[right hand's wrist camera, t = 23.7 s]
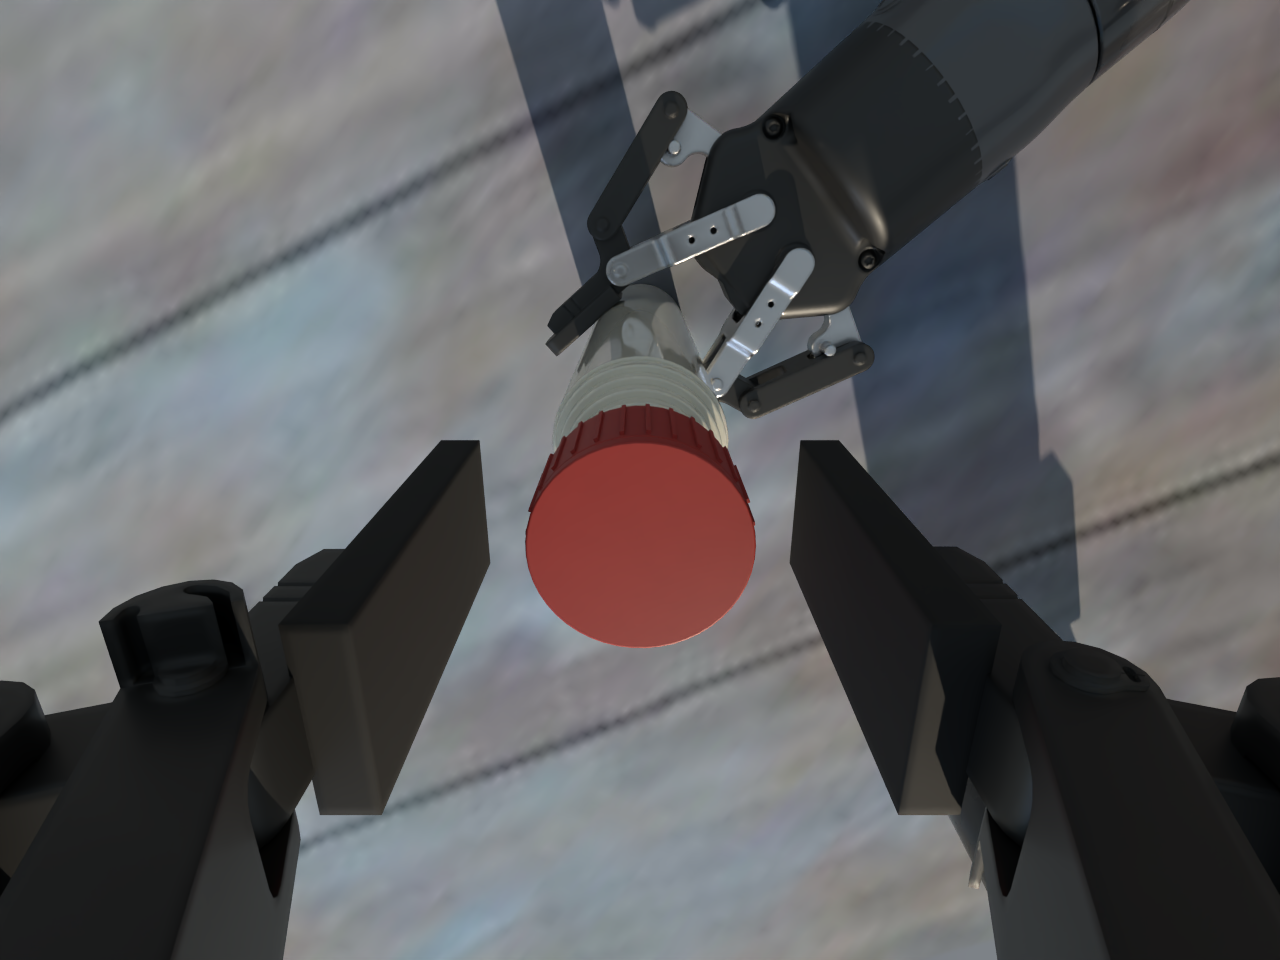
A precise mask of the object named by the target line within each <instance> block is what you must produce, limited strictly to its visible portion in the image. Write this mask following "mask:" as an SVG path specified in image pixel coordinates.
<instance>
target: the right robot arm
mask: <svg viewBox="0 0 1280 960" xmlns="http://www.w3.org/2000/svg"><path fill="white" fill-rule="evenodd" d="M489 565H490V554H489V543H488V532H487V520H486V509H485V498H484V486H483V475H482V464H481V452H480V441H479V440H441V441H440V442H439V443H438V445H437V446H436V447H435V448H434V449H433V450H432V451H431V452H430V454H429V455H428V456H427V457H426V458H425V459H424V460H423V461H422V463H421V464H420V465H419V466H418V467H417V468H416V469H415V471H414V472H413V473H412V474H411V475H410V476H409V477H408V478H407V480H406V481H405V482H404V483H403V484H402V485H401V486H400V487H399V489H398V490H397V491H396V492H395V493H394V494H393V495H392V497H391V498H390V499H389V500H388V501H387V502H386V503H385V504H384V506H383V507H382V508H381V509H380V510H379V511H378V512H377V513H376V515H375V516H374V517H373V518H372V519H371V520H370V521H369V523H368V524H367V525H366V526H365V527H364V528H363V529H362V530H361V532H360V533H359V534H358V535H357V536H356V537H355V538H354V539H353V541H352V542H351V543H350V544H349V545H348V546H347V547H346V549H323V550H321V551H320V552H318V553H316V554H314V555H312V556H310V557H309V558H307V559H305V560H303V561H301V562H299V563H298V564H296V565H295V566H294V567H293V568H292V569H291V570H290V571H289V572H288V573H287V574H286V575H285V576H284V577H283V578H282V579H281V580H280V581H279V582H278V586H274V587H273V588H272V589H271V590H270V591H269V592H268V593H267V594H266V595H265V596H264V597H263V602H258V603H257V604H256V605H255V606H254V607H253V608H252V609H251V610H250V611H249V612H248V610H247V605H246V601H245V597H244V593H243V589H241V588H240V587H238V586H237V585H235V584H234V583H232V582H226V581H219V580H198V581H187V582H182V583H178V584H173V585H168V586H163V587H160V588H157V589H155V590H152V591H149V592H146V593H143V594H140V595H138V596H135V597H133V598H131V599H130V600H128V601H126V602H124V603H122V604H120V605H119V606H117V607H115V608H113V609H112V610H111V611H110V612H109V613H108V614H107V615H105V616H104V617H103V618H102V619H101V620H100V621H99V624H100V628H101V631H102V634H103V637H104V640H105V643H106V646H107V649H108V652H109V655H110V658H111V661H112V664H113V667H114V670H115V673H116V676H117V679H118V682H119V685H120V690H119V692H118V694H117V695H116V697H115V699H114V701H113V702H111V703H107V704H102V705H96V706H91V707H86V708H81V709H75V710H70V711H65V712H60V713H54V714H49V715H44V713H43V710H42V708H41V705H40V702H39V700H38V697H37V695H36V692H35V690H34V689H33V688H31V687H30V686H28V685H27V684H25V683H23V682H13V681H0V960H283V955H284V948H285V941H286V935H287V928H288V921H289V914H290V908H291V901H292V894H293V887H294V881H295V874H296V867H297V860H298V854H299V847H300V840H301V839H300V832H299V825H298V820H297V816H296V812H295V808H296V806H297V804H298V803H299V801H300V799H301V797H302V796H303V794H304V792H305V791H306V789H307V787H308V785H309V784H310V782H311V780H312V781H313V786H314V790H315V795H316V799H317V804H318V808H319V813H320V815H382V813H383V811H384V808H385V806H386V804H387V801H388V799H389V797H390V794H391V792H392V790H393V787H394V785H395V783H396V780H397V778H398V776H399V773H400V771H401V769H402V766H403V764H404V762H405V760H406V757H407V755H408V753H409V750H410V748H411V746H412V743H413V741H414V739H415V736H416V734H417V732H418V729H419V727H420V725H421V722H422V720H423V718H424V715H425V713H426V711H427V708H428V706H429V704H430V702H431V699H432V697H433V695H434V692H435V690H436V688H437V685H438V683H439V681H440V678H441V676H442V674H443V671H444V669H445V667H446V664H447V662H448V660H449V657H450V655H451V653H452V651H453V648H454V646H455V644H456V641H457V639H458V637H459V634H460V632H461V630H462V627H463V625H464V623H465V620H466V618H467V616H468V613H469V611H470V609H471V606H472V604H473V602H474V599H475V597H476V595H477V593H478V590H479V588H480V586H481V583H482V581H483V579H484V576H485V574H486V572H487V569H488V567H489ZM790 565H791V567H792V569H793V572H794V574H795V576H796V579H797V581H798V583H799V586H800V588H801V590H802V593H803V595H804V597H805V599H806V602H807V604H808V606H809V609H810V611H811V613H812V616H813V618H814V620H815V623H816V625H817V627H818V630H819V632H820V634H821V637H822V639H823V641H824V644H825V646H826V648H827V651H828V653H829V655H830V657H831V660H832V662H833V664H834V667H835V669H836V671H837V674H838V676H839V678H840V681H841V683H842V685H843V688H844V690H845V692H846V695H847V697H848V699H849V702H850V704H851V706H852V708H853V711H854V713H855V715H856V718H857V720H858V722H859V725H860V727H861V729H862V732H863V734H864V736H865V739H866V741H867V743H868V746H869V748H870V750H871V753H872V755H873V757H874V760H875V762H876V764H877V766H878V769H879V771H880V773H881V776H882V778H883V780H884V783H885V785H886V787H887V790H888V792H889V794H890V797H891V799H892V801H893V804H894V806H895V808H896V811H897V813H898V815H960V813H961V808H962V804H963V799H964V795H965V790H966V786H967V781H968V777H969V778H970V780H971V782H972V783H973V785H974V787H975V788H976V790H977V792H978V794H979V795H980V797H981V799H982V800H983V802H984V804H985V806H986V808H985V812H984V816H983V820H982V825H981V829H980V833H979V837H978V841H977V846H976V850H975V854H974V858H973V862H972V867H971V871H970V878H969V885H968V886H969V887H973V888H976V889H979V885H980V881H981V877H982V873H984V872H985V879H986V886H987V892H988V899H989V906H990V912H991V919H992V926H993V933H994V939H995V946H996V953H997V960H1280V677H1277V678H1264V679H1257V680H1256V681H1254V682H1253V683H1251V684H1250V685H1248V686H1247V687H1246V690H1245V692H1244V695H1243V697H1242V700H1241V703H1240V705H1239V708H1238V710H1237V712H1233V711H1228V710H1222V709H1217V708H1212V707H1207V706H1201V705H1196V704H1191V703H1185V702H1180V701H1175V700H1170V699H1166V697H1165V696H1164V694H1163V692H1162V691H1161V689H1160V687H1159V686H1158V685H1157V684H1156V683H1155V682H1154V681H1153V679H1152V678H1151V677H1150V676H1149V675H1148V674H1147V673H1146V672H1145V671H1143V670H1142V669H1140V668H1138V667H1137V666H1135V665H1134V664H1132V663H1131V662H1129V661H1128V660H1126V659H1124V658H1122V657H1119V656H1117V655H1115V654H1112V653H1110V652H1108V651H1105V650H1103V649H1100V648H1097V647H1093V646H1089V645H1085V644H1081V643H1077V642H1068V641H1063V640H1062V639H1061V638H1060V637H1059V636H1058V635H1057V634H1056V633H1055V632H1054V631H1053V630H1052V629H1051V628H1050V627H1049V626H1048V625H1047V624H1046V623H1045V622H1044V621H1043V620H1042V619H1041V618H1040V617H1039V616H1038V615H1037V614H1036V613H1035V612H1034V611H1033V610H1032V609H1031V608H1030V607H1029V606H1028V605H1027V604H1026V603H1025V602H1024V601H1023V600H1022V599H1018V597H1017V594H1016V593H1015V592H1014V591H1013V590H1012V589H1011V588H1010V587H1009V586H1008V585H1007V584H1003V582H1002V581H1003V580H1002V579H1001V578H1000V577H999V576H998V575H997V574H996V573H995V572H994V571H993V570H992V569H991V568H990V567H989V566H988V565H987V564H986V563H985V562H984V561H982V560H980V559H978V558H976V557H974V556H973V555H971V554H969V553H967V552H965V551H963V550H961V549H960V548H958V547H933V546H932V545H931V544H930V543H929V542H928V541H927V539H926V538H925V537H924V536H923V535H922V534H921V533H920V532H919V530H918V529H917V528H916V527H915V526H914V525H913V524H912V523H911V521H910V520H909V519H908V518H907V517H906V516H905V515H904V513H903V512H902V511H901V510H900V509H899V508H898V507H897V506H896V504H895V503H894V502H893V501H892V500H891V499H890V498H889V497H888V495H887V494H886V493H885V492H884V491H883V490H882V489H881V487H880V486H879V485H878V484H877V483H876V482H875V481H874V480H873V478H872V477H871V476H870V475H869V474H868V473H867V472H866V471H865V469H864V468H863V467H862V466H861V465H860V464H859V463H858V461H857V460H856V459H855V458H854V457H853V456H852V455H851V454H850V452H849V451H848V450H847V449H846V448H845V447H844V446H843V445H842V443H841V442H840V441H839V440H801V441H800V452H799V464H798V475H797V486H796V498H795V509H794V520H793V532H792V543H791V554H790Z"/></svg>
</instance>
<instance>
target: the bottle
mask: <svg viewBox="0 0 1280 960" xmlns="http://www.w3.org/2000/svg"><path fill="white" fill-rule="evenodd" d="M622 293H623V294H622V298H621V300H620V301H618V302H617V303H616V304H615V305H614V306H613V307H612V308H611V309H610V310H608V311H607V312H606V313H605V314H604V315H603V316H602V317H601V318H600V319H598V320H597V321H596V322H595V324H594V326H593V329H592V331H591V333H590V336H589V338H588V341H587V343H586V345H585V348H584V350H583V352H582V355H581V357H580V360H579V362H578V364H577V367H576V369H575V372H574V374H573V376H572V379H571V381H570V383H569V386H568V388H567V391H566V393H565V395H564V398H563V400H562V402H561V405H560V407H559V410H558V412H557V415H556V419H555V423H554V428H553V451H554V453H555V451H556V449H557V448H558V446H559V444H560V441H561V439H562V437H563V436H565V437H567V436H568V435H569V434H570V433H571V432H572V431H573V430H574V429H575V428H577V426H578V423H579V422H581V421H582V422H585V421H587V420H588V419H590V418H592V417H594V416H596V415H598V414H599V412H600V411H602V410H603V412H606V411H608V410H612V409H616V408H620V407H622V405H626V407H627V406H645V404H650V406H654V407H660V408H665V409H669V408H673V411H676V412H678V413H680V414H683V415H685V416H687V417H689V418H690V417H691V416H692V417H694V418H695V421H696V422H698V423H699V424H700V425H702V426H703V427H704V428H706V429H707V430H708V431H709V430H710V429H711V430H712V431H713V433H714V436H715V438H716V439H717V440H718V441H719V443H720V444H721V445H722V447H724V446H726V447H727V449H728V429H727V424H726V419H725V416H724V413H723V410H722V408H721V405H720V403H719V400H718V398H717V396H716V393H715V391H714V389H713V386H712V384H711V382H710V379H709V377H708V374H707V372H706V370H705V367H704V365H703V363H702V360H701V358H700V356H699V353H698V351H697V349H696V346H695V344H694V341H693V339H692V337H691V334H690V332H689V330H688V327H687V325H686V323H685V320H684V318H683V316H682V313H681V311H680V309H679V307H678V305H677V304H676V302H675V301H674V299H673V298H672V297H671V296H670V295H669V294H667V293H666V292H665V291H663V290H661V289H660V288H657V287H655V286H652V285H647V284H633V285H629V286H628V287H626V288H625V289H624V290H623V291H622Z"/></svg>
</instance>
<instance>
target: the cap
mask: <svg viewBox="0 0 1280 960" xmlns="http://www.w3.org/2000/svg"><path fill="white" fill-rule="evenodd" d="M748 503H750V500H749V498H748V495H747V492H746V490H745V487H744V485H743V482H742V479H741V477H740V474H739V472H738V469H737V466H736V465H733V462H732V459H731V457H730V454H729V451H728V449H727V447H726V446H724V447H722V445H721V444H720V443H719V441H718V440H717V439H716V438H715V436H714V433H713V431H712V430H711V429H710V430H709V431H708V430H707V429H706V428H704V427H703V426H702V425H700V424H699V423H698V422H696V421H695V418H694V417H692V416H691V417H690V418H689V417H687V416H685V415H683V414H680V413H678V412H676V411H673V408H669V409H665V408H660V407H654V406H650V404H645V406H627V407H626V405H622V407H620V408H616V409H612V410H608V411H606V412H603V410H602V411H600V412H599V414H598V415H596V416H594V417H592V418H590V419H588V420H587V421H585V422H582V421H581V422H579V423H578V426H577V428H575V429H574V430H573V431H572V432H571V433H570V434H569V435H568V436H567V437H565V436H563V437H562V439H561V441H560V444H559V446H558V448H557V449H556V451H555V453H554V455H553V454H550V456H549V458H548V460H547V463H546V466H545V468H544V471H543V473H542V475H541V478H540V481H539V483H538V486H537V488H536V491H535V494H534V496H533V499H532V502H531V504H530V507H529V510H528V512H531V514H530V517H529V521H528V525H527V529H526V540H525V545H526V558H527V563H528V568H529V571H530V574H531V577H532V580H533V582H534V584H535V586H536V588H537V590H538V592H539V594H540V595H541V597H542V598H543V600H544V601H545V603H546V604H547V605H548V606H549V608H550V609H551V610H552V611H553V612H554V613H555V614H556V615H557V616H558V617H559V618H560V619H562V620H563V621H564V622H565V623H566V624H568V625H569V626H571V627H572V628H574V629H575V630H577V631H578V632H580V633H582V634H584V635H586V636H588V637H590V638H593V639H595V640H598V641H601V642H603V643H608V644H612V645H616V646H622V647H630V648H650V647H660V646H665V645H670V644H674V643H677V642H680V641H683V640H686V639H688V638H691V637H693V636H695V635H697V634H699V633H701V632H703V631H704V630H706V629H707V628H709V627H711V626H712V625H713V624H715V623H716V622H717V621H718V620H720V619H721V618H722V617H723V616H724V615H725V614H726V613H727V612H728V611H729V610H730V609H731V608H732V607H733V605H734V604H735V603H736V601H737V600H738V599H739V597H740V596H741V594H742V592H743V590H744V589H745V587H746V585H747V582H748V580H749V577H750V575H751V572H752V568H753V564H754V560H755V549H756V540H755V529H754V526H755V521H754V518H753V516H752V513H751V510H750V508H749V505H748Z"/></svg>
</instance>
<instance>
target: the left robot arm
mask: <svg viewBox="0 0 1280 960" xmlns="http://www.w3.org/2000/svg"><path fill="white" fill-rule="evenodd" d="M1189 1H1190V0H883V1H882V2H881V3H880V4H879V5H878V7H877V9H876V10H875V11H874V12H873V13H872V14H871V15H870V16H869V17H868V18H867V19H866V20H865V21H864V22H862V23H861V24H860V25H859V26H858V27H857V28H856V29H855V30H854V31H853V32H852V33H851V34H850V35H849V36H848V37H846V38H845V39H844V40H843V41H842V42H841V43H840V44H839V45H837V46H836V47H835V48H834V49H833V50H832V51H831V52H830V53H829V54H828V55H827V56H826V57H824V58H823V59H822V60H821V61H820V62H819V63H818V64H817V65H816V66H815V67H814V68H813V69H811V70H810V71H809V72H808V73H807V74H806V75H805V76H804V77H803V78H802V79H801V80H800V81H798V82H797V83H796V84H795V85H794V86H793V87H792V88H791V89H790V90H789V91H788V92H787V93H785V94H784V95H783V96H782V97H781V98H780V99H779V100H778V101H777V102H776V103H775V104H774V105H772V106H771V107H770V108H769V109H768V110H767V111H766V112H765V113H764V114H763V115H762V116H761V117H759V118H758V119H757V120H756V121H755V122H753V123H751V124H749V125H747V126H744V127H741V128H736V129H731V130H729V131H727V132H725V133H723V134H722V133H720V132H719V131H718V130H716V129H715V128H714V127H713V126H711V125H710V124H709V123H707V122H706V121H705V120H703V119H702V118H701V117H699V116H698V115H697V114H695V113H694V112H693V111H691V110H690V109H689V108H688V107H687V102H686V100H685V98H684V97H683V96H682V95H681V94H680V93H678V92H675V91H668V92H665V93H663V94H662V95H661V96H660V97H659V98H658V100H657V102H656V103H655V105H654V107H653V108H652V110H651V112H650V113H649V115H648V117H647V119H646V120H645V122H644V124H643V125H642V127H641V129H640V130H639V132H638V134H637V136H636V137H635V139H634V141H633V142H632V144H631V146H630V147H629V149H628V151H627V152H626V154H625V156H624V158H623V159H622V161H621V163H620V164H619V166H618V168H617V169H616V171H615V173H614V175H613V176H612V178H611V180H610V181H609V183H608V185H607V186H606V188H605V190H604V191H603V193H602V195H601V197H600V198H599V200H598V202H597V203H596V205H595V207H594V208H593V210H592V212H591V214H590V215H589V217H588V221H587V226H588V230H589V232H590V234H591V235H592V236H593V238H594V241H595V244H596V246H597V249H598V251H599V254H600V259H601V263H600V267H599V270H598V272H597V273H596V274H595V275H594V276H593V277H592V278H591V279H589V280H588V281H587V282H586V283H585V284H584V285H583V286H582V287H581V288H580V289H579V290H577V291H576V292H575V293H574V294H573V295H572V296H571V297H570V298H569V299H568V300H567V301H565V302H564V303H563V304H562V305H561V306H560V307H559V308H558V309H557V310H556V311H555V312H554V313H553V315H552V317H551V319H550V321H549V323H548V325H547V326H548V327H549V328H550V329H551V330H552V331H553V333H554V334H553V335H552V336H551V337H550V338H549V340H548V341H547V342H546V345H547V346H548V347H549V349H550V350H551V351H552V352H553V353H554V354H555V355H556V356H558V355H559V354H560V353H562V352H563V351H564V350H565V349H566V348H567V347H568V346H569V345H570V344H572V343H573V342H574V341H575V340H576V339H577V338H578V337H579V336H581V335H582V334H583V333H584V332H585V331H586V330H587V329H588V328H589V327H591V326H592V325H593V324H594V323H595V322H596V321H597V320H598V319H600V318H601V317H602V316H603V315H604V314H605V313H606V312H607V311H608V310H610V309H611V308H612V307H613V306H614V305H615V304H616V303H617V302H618V301H620V300H621V298H622V294H623V293H622V291H623V290H624V289H625V288H626V287H628V286H629V285H630V284H631V283H633V282H635V281H637V280H640V279H642V278H644V277H647V276H649V275H651V274H653V273H656V272H658V271H660V270H663V269H665V268H668V267H671V266H674V265H676V264H679V263H681V262H683V261H686V260H688V259H690V258H693V257H694V258H695V259H696V260H697V262H698V263H699V264H700V265H701V267H702V268H703V269H705V270H706V271H707V272H709V273H710V274H711V275H713V276H714V277H715V278H717V279H718V281H719V283H720V286H721V288H722V290H723V293H724V295H725V297H726V298H727V299H728V300H729V302H730V303H731V304H732V306H733V307H734V308H733V310H732V312H731V313H730V315H729V316H728V318H727V319H726V321H725V323H724V324H723V326H722V328H721V331H720V334H719V336H718V337H717V339H716V340H715V342H714V343H713V345H712V347H711V348H710V350H709V351H708V353H707V354H706V356H705V358H704V359H703V361H702V363H703V365H704V367H705V370H706V372H707V374H708V377H709V379H710V382H711V384H712V386H713V389H714V391H715V393H716V396H717V398H718V400H719V402H723V403H726V404H728V405H730V406H732V407H733V408H735V409H737V410H739V411H741V412H742V413H743V415H744V416H746V417H747V418H751V419H756V418H759V417H761V416H764V415H766V414H768V413H771V412H773V411H775V410H777V409H780V408H782V407H784V406H786V405H789V404H791V403H793V402H795V401H798V400H800V399H802V398H805V397H807V396H809V395H811V394H814V393H816V392H818V391H820V390H823V389H825V388H827V387H830V386H832V385H834V384H836V383H839V382H841V381H843V380H845V379H848V378H850V377H852V376H854V375H857V374H859V373H861V372H864V371H866V370H867V369H869V368H870V367H871V365H872V364H873V361H874V352H873V350H872V348H871V347H870V346H868V345H866V344H865V343H863V342H862V341H861V338H860V335H859V333H858V330H857V327H856V324H855V321H854V318H853V316H852V313H851V310H850V307H849V305H850V304H851V303H852V302H853V300H854V299H855V297H856V295H857V293H858V290H859V288H860V286H861V285H862V283H863V281H864V280H865V279H866V277H867V276H868V275H869V274H870V273H871V272H872V271H873V270H875V269H876V268H877V267H879V266H880V265H881V264H882V263H884V262H885V261H886V260H887V259H889V258H890V257H891V256H892V255H893V254H895V253H896V252H897V251H898V250H900V249H901V248H902V247H903V246H904V245H906V244H907V243H908V242H909V241H911V240H912V239H913V238H914V237H915V236H917V235H918V234H919V233H920V232H922V231H923V230H924V229H925V228H926V227H928V226H929V225H930V224H931V223H933V222H934V221H935V220H936V219H937V218H939V217H940V216H941V215H942V214H944V213H945V212H946V211H947V210H948V209H950V208H951V207H952V206H953V205H955V204H956V203H957V202H958V201H959V200H961V199H962V198H963V197H964V196H966V195H967V194H968V193H969V192H970V191H972V190H973V189H974V188H975V187H976V186H978V185H979V184H980V183H982V182H984V181H986V180H989V179H991V178H992V177H993V176H995V175H996V174H997V173H998V172H1000V171H1001V170H1002V169H1003V168H1004V167H1005V166H1006V165H1007V163H1008V162H1009V161H1010V160H1011V159H1012V157H1013V156H1015V155H1016V154H1017V153H1018V152H1020V151H1021V150H1022V149H1023V148H1024V147H1026V146H1027V145H1028V144H1029V143H1030V142H1031V141H1032V140H1034V139H1035V138H1036V137H1037V136H1038V135H1039V134H1040V133H1041V132H1042V131H1043V130H1044V129H1045V128H1046V127H1047V126H1048V125H1049V124H1050V123H1051V122H1052V121H1053V120H1054V119H1055V118H1056V117H1057V115H1058V114H1059V113H1060V112H1061V111H1062V110H1063V109H1064V108H1065V107H1066V106H1067V105H1068V104H1069V103H1070V102H1071V101H1072V100H1073V99H1075V98H1076V97H1077V96H1078V95H1079V94H1080V93H1081V92H1082V91H1083V90H1084V89H1085V88H1087V87H1088V86H1089V85H1090V84H1091V83H1093V82H1094V81H1095V80H1096V79H1098V78H1099V77H1100V76H1101V75H1102V74H1104V73H1105V72H1106V71H1107V70H1109V69H1110V68H1111V67H1112V66H1113V65H1115V64H1116V63H1117V62H1118V61H1120V60H1121V59H1122V58H1123V57H1124V56H1126V55H1127V54H1128V53H1129V52H1130V51H1132V50H1133V49H1134V48H1135V47H1137V46H1138V45H1139V44H1140V43H1141V42H1143V41H1144V40H1145V39H1146V38H1147V37H1149V36H1150V35H1151V34H1152V33H1154V32H1155V31H1156V30H1158V29H1159V28H1160V27H1161V26H1162V25H1164V24H1165V23H1166V22H1167V21H1168V20H1169V19H1170V18H1172V17H1173V16H1174V15H1175V14H1176V13H1177V12H1178V11H1179V10H1181V9H1182V8H1183V7H1184V6H1185V5H1186V4H1187V3H1188V2H1189ZM693 154H701V155H704V156H705V157H706V160H705V165H704V169H703V173H702V177H701V181H700V185H699V189H698V193H697V197H696V201H695V206H694V210H693V214H692V218H691V220H689V221H687V222H685V223H682V224H680V225H678V226H676V227H673V228H671V229H669V230H667V231H664V232H662V233H660V234H658V235H656V236H654V237H652V238H650V239H647V240H645V241H643V242H641V243H638V244H636V245H634V246H632V247H630V246H629V243H628V241H627V238H626V235H625V232H624V230H623V227H622V224H623V222H624V220H625V219H626V217H627V215H628V214H629V212H630V210H631V209H632V207H633V205H634V204H635V202H636V201H637V199H638V197H639V196H640V194H641V192H642V191H643V189H644V187H645V186H646V184H647V182H648V181H649V179H650V177H651V176H652V174H653V173H654V171H655V169H656V168H657V166H658V164H659V163H660V162H661V163H663V164H664V165H666V166H668V167H676V166H679V165H680V164H682V163H683V162H684V160H685V159H686V158H687V157H689V156H690V155H693ZM813 316H824V323H823V325H822V327H821V328H820V329H819V330H818V331H816V332H815V333H813V334H812V335H811V336H810V338H809V340H808V343H807V347H808V350H807V351H805V352H802V353H800V354H798V355H796V356H794V357H791V358H789V359H787V360H785V361H782V362H780V363H778V364H776V365H774V366H771V367H769V368H767V369H765V370H763V371H760V372H758V373H756V374H754V375H751V376H749V377H747V378H745V377H743V376H741V375H740V372H741V371H742V369H743V368H744V366H745V365H746V363H747V362H748V360H749V359H750V358H751V357H752V356H754V355H755V354H756V353H757V351H758V350H759V349H760V347H761V346H762V344H763V343H764V341H765V340H766V338H767V337H768V335H769V334H770V332H771V331H772V329H773V327H774V326H775V324H776V323H777V321H778V320H779V319H790V318H801V317H813ZM758 322H759V324H758ZM757 324H758V325H757ZM985 808H986V806H985V804H984V802H983V800H982V799H981V797H980V795H979V794H978V792H977V790H976V788H975V787H974V785H973V783H972V782H971V780H970V778H969V777H968V781H967V786H966V790H965V795H964V799H963V804H962V808H961V813H960V815H948V816H949V818H950V820H951V822H952V824H953V826H954V828H955V829H956V831H957V833H958V835H959V837H960V839H961V841H962V843H963V845H964V847H965V849H966V851H967V853H968V855H969V857H970V859H971V861H972V862H973V858H974V854H975V850H976V846H977V841H978V837H979V833H980V829H981V825H982V820H983V816H984V812H985ZM981 880H982V882H983V884H984V886H985V888H986V890H987V886H986V879H985V872H984V873H982V877H981Z"/></svg>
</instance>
